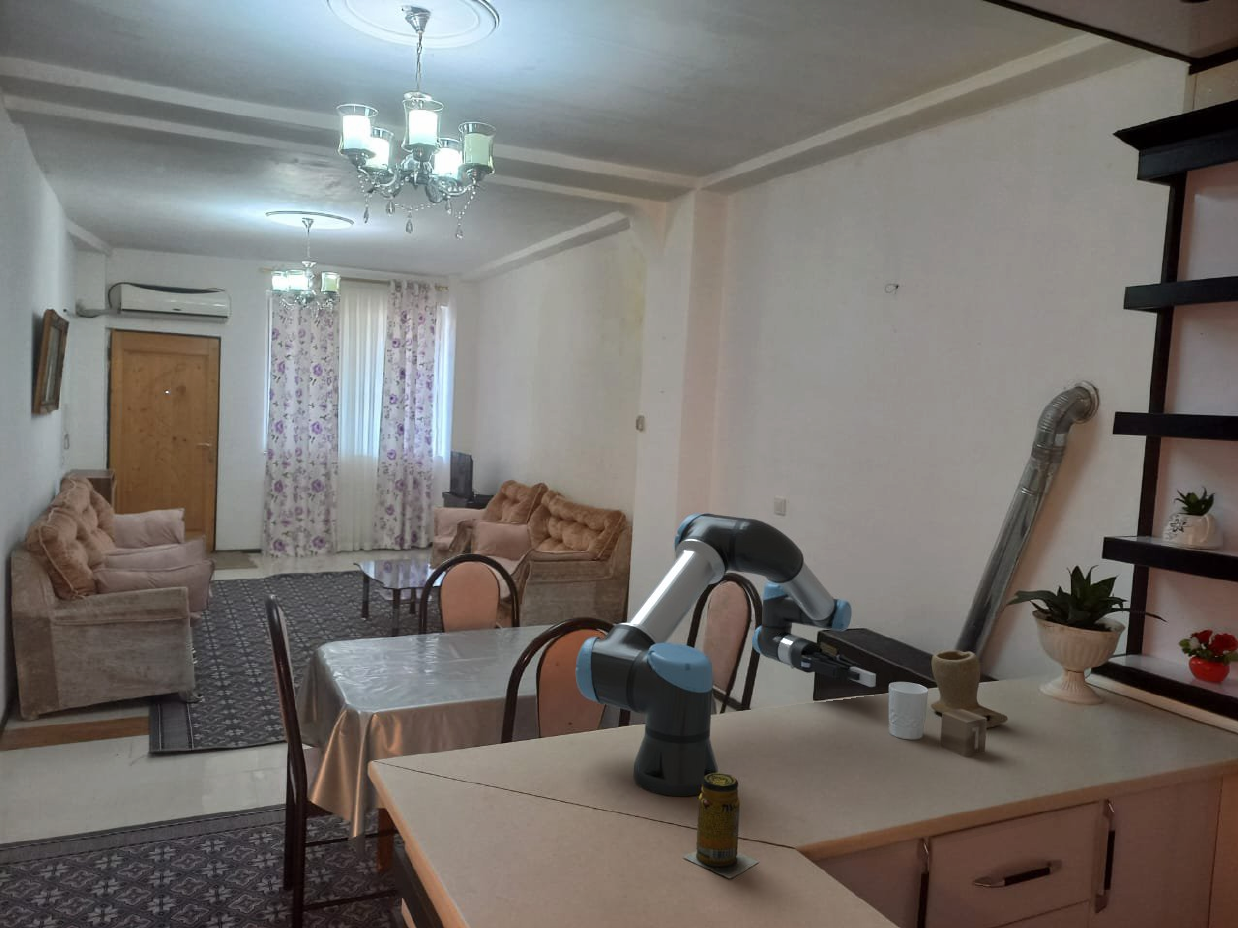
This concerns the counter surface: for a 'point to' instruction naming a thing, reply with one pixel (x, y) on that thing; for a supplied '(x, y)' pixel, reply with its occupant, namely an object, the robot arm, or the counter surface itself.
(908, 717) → the white cup
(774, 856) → the counter surface
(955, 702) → the stone cup
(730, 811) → the condiment
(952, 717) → the marked walnut block
